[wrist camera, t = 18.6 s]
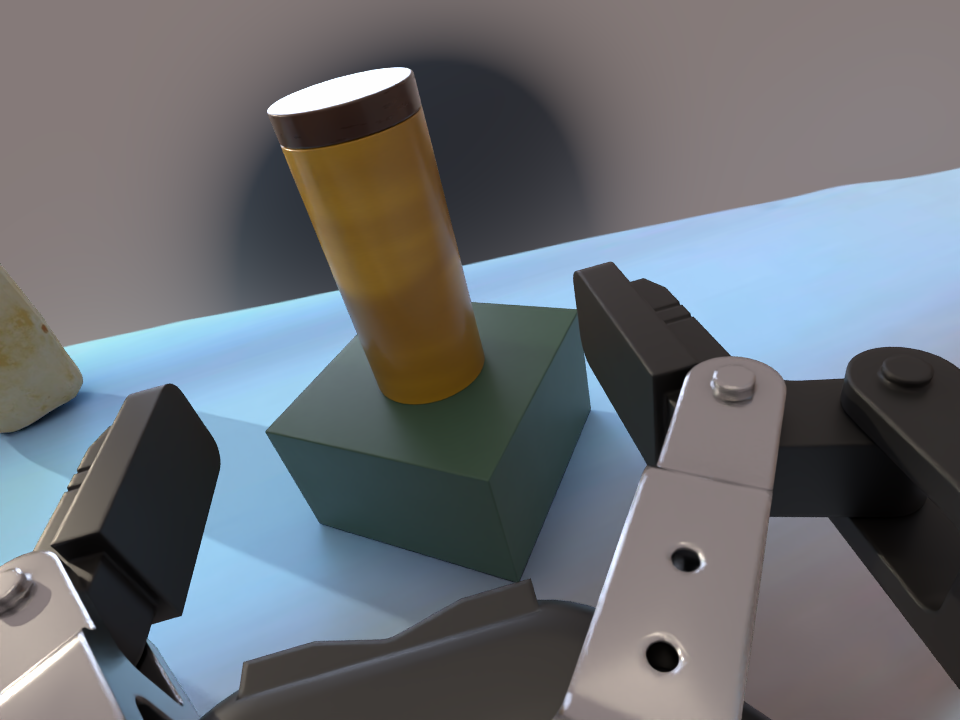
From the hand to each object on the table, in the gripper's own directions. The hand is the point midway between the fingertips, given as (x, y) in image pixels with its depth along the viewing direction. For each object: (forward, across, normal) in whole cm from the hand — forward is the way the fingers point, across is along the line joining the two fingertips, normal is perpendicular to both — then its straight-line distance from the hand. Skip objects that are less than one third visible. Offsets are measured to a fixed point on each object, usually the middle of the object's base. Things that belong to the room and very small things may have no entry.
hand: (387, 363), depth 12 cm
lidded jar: (+10, 0, +8) cm, 13 cm away
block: (+10, 0, +14) cm, 17 cm away
